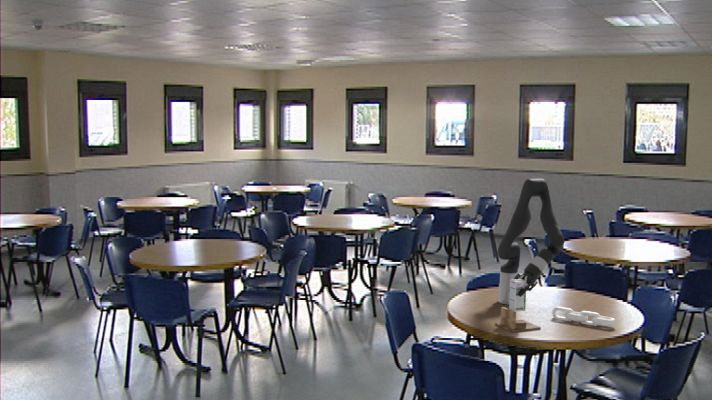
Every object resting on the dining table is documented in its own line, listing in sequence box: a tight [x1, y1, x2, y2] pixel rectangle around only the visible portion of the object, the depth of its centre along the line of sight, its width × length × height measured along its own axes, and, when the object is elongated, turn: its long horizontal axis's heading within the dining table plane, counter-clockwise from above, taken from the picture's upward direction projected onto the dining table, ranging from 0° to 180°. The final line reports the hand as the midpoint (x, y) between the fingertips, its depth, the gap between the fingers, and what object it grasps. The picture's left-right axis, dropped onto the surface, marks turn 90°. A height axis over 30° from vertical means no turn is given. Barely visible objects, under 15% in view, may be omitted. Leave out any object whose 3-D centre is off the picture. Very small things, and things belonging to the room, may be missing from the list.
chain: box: [551, 306, 616, 327], centre depth 341 cm, size 30×6×6 cm, turn 57°
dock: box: [494, 306, 541, 334], centre depth 332 cm, size 14×16×9 cm
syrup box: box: [508, 279, 527, 312], centre depth 330 cm, size 6×6×14 cm
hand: (514, 293), depth 330 cm, fingers closed on syrup box, 6 cm apart
